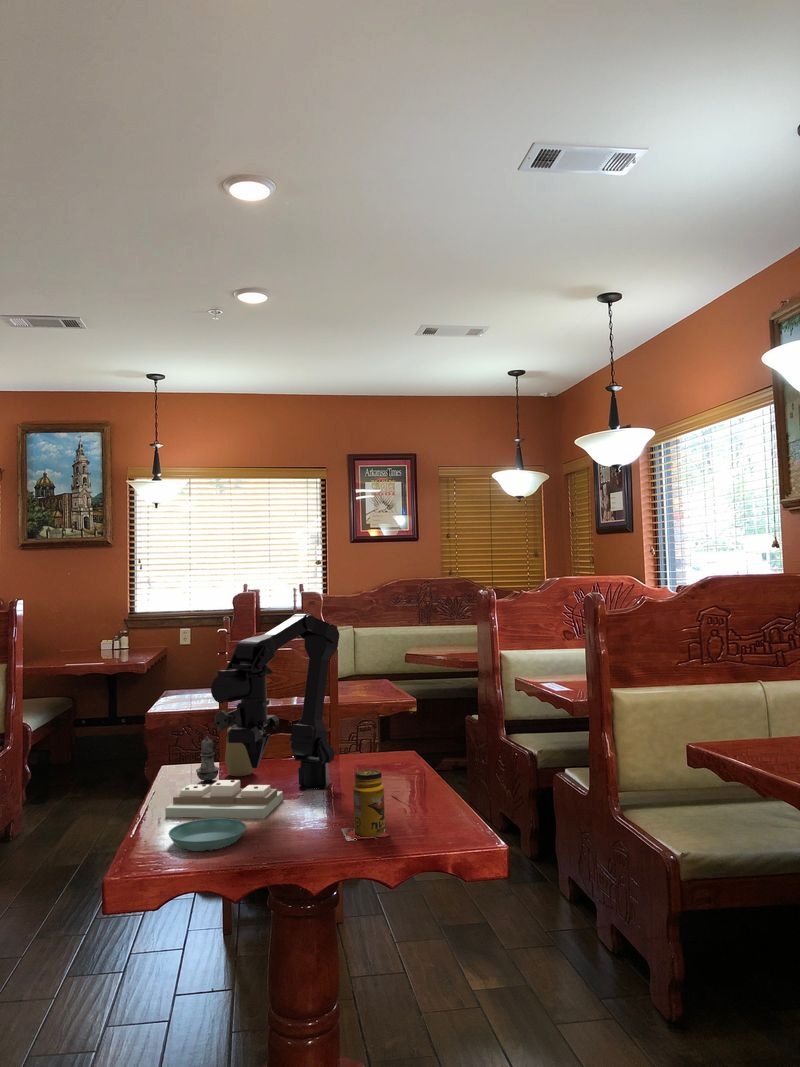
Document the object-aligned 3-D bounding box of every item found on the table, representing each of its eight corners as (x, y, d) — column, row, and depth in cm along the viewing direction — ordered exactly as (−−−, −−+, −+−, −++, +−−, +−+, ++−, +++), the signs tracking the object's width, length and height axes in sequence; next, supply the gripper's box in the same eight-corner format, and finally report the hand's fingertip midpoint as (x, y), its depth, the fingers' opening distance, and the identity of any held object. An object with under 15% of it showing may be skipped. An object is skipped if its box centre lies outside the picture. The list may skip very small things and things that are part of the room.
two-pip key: (240, 791, 181) (240, 779, 181) (232, 797, 176) (232, 784, 176) (219, 791, 181) (218, 779, 181) (210, 797, 176) (210, 784, 176)
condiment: (390, 837, 155) (388, 774, 156) (347, 842, 153) (345, 778, 154) (382, 826, 162) (380, 766, 163) (341, 830, 160) (339, 769, 161)
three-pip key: (210, 795, 181) (210, 783, 182) (202, 802, 177) (201, 789, 177) (189, 795, 182) (189, 783, 182) (180, 801, 177) (180, 789, 177)
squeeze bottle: (253, 777, 206) (251, 706, 207) (221, 778, 206) (220, 707, 207) (258, 770, 214) (257, 701, 215) (228, 770, 214) (227, 702, 215)
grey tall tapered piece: (213, 787, 197) (212, 737, 198) (191, 786, 198) (190, 737, 199) (223, 781, 203) (222, 733, 204) (202, 780, 204) (201, 733, 205)
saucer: (229, 857, 147) (229, 842, 147) (154, 854, 150) (154, 840, 150) (257, 831, 162) (257, 818, 162) (188, 829, 164) (188, 816, 165)
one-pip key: (270, 796, 180) (270, 784, 180) (263, 802, 175) (263, 790, 175) (248, 796, 180) (248, 784, 180) (241, 802, 175) (241, 789, 175)
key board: (282, 800, 184) (282, 785, 184) (264, 818, 170) (263, 802, 170) (191, 799, 187) (191, 784, 187) (165, 817, 173) (165, 801, 173)
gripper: (233, 691, 189) (234, 758, 188) (203, 703, 170) (204, 778, 170) (279, 690, 187) (280, 758, 186) (253, 703, 169) (254, 778, 168)
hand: (254, 767), depth 178 cm, fingers closed
